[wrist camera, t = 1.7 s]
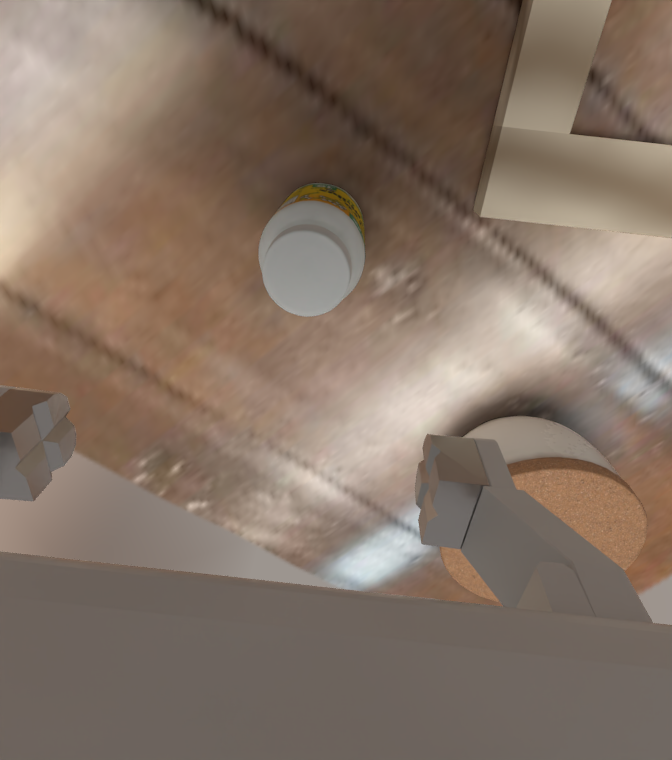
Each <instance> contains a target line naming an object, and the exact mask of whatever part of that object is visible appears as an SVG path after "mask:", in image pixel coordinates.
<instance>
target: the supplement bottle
mask: <svg viewBox="0 0 672 760" xmlns="http://www.w3.org/2000/svg"><path fill="white" fill-rule="evenodd" d="M258 254H259V263H260V268H261V271H262V276H263V282H264V285H265V288H266V290H267V292H268V294H269V295H270V297H271V298H272V299H273V301H274V302H275V303H276V304H277V305H279V306H280V307H281V308H282V309H284V310H286V311H287V312H290V313H292V314H295V315H299V316H307V317H309V316H318V315H322V314H324V313H327V312H329V311H330V310H332V309H333V308H335V307H336V306H337V305H338V304H339V303H340V302H341V301H342V299H344V298H345V297H346V296H347V295H349V294H350V293H351V292H352V290H353V289H354V288H355V287H356V285H357V283H358V282H359V280H360V278H361V275H362V272H363V268H364V263H365V234H364V221H363V216H362V213H361V210H360V208H359V206H358V204H357V203H356V201H355V200H354V199H353V198H352V197H351V195H349V194H348V193H347V192H346V191H345V190H343V189H341V188H339V187H337V186H334V185H330V184H324V183H312V184H307V185H304V186H302V187H300V188H298V189H297V190H295V191H294V192H293V193H292V194H291V195H290V196H289V197H288V198H287V199H286V200H285V201H284V203H283V204H282V205H281V206H280V208H279V209H278V210H277V212H276V213H275V214H274V215H273V216H272V218H271V219H270V220H269V222H268V223H267V225H266V226H265V228H264V230H263V233H262V235H261V238H260V243H259V252H258Z"/></svg>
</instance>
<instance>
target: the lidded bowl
mask: <svg viewBox="0 0 672 760" xmlns="http://www.w3.org/2000/svg"><path fill="white" fill-rule="evenodd" d="M463 437H464V438H482V439H494V440H495V441H496V442H497V443H498V445H499V448H500V450H501V453H502V455H503V458H504V460H505V462H506V465H507V467H508V470H509V472H510V474H511V477H512V479H513V482H514V484H515V487H516V489H517V490H524V491H525V492H526V493H527V494H529V495H530V496H531V497H532V498H534V499H535V500H536V501H538V502H539V503H540V504H541V505H543V506H544V507H545V508H546V509H548V510H549V511H550V512H551V513H553V514H554V515H555V516H557V517H558V518H559V519H560V520H562V521H563V522H564V523H565V524H567V525H568V526H569V527H570V528H572V529H573V530H574V531H575V532H577V533H578V534H579V535H581V536H582V537H583V538H584V539H586V540H587V541H588V542H589V543H591V544H592V545H593V546H594V547H596V548H597V549H598V550H600V551H601V552H602V553H603V554H605V555H606V556H607V557H608V558H610V559H611V560H612V561H613V562H615V563H616V564H617V565H618V566H620V567H621V568H622V569H623V570H624V571H625V570H626V569H627V568H628V567H629V566H630V565H631V564H632V563H633V562H634V561H635V559H636V558H637V556H638V554H639V553H640V551H641V549H642V547H643V544H644V542H645V539H646V533H647V526H648V525H647V516H646V513H645V510H644V508H643V505H642V503H641V502H640V500H639V499H638V497H637V496H636V495H635V493H634V492H633V490H632V489H631V488H630V486H629V485H628V484H627V483H626V482H625V481H624V480H623V479H622V478H621V477H620V476H619V475H618V473H617V472H616V470H615V469H614V468H613V466H612V465H611V464H610V463H609V461H608V460H607V459H606V458H605V457H604V456H603V455H602V454H601V453H600V452H599V451H598V450H597V449H596V448H595V447H594V446H593V445H592V444H591V443H590V442H588V441H587V440H586V439H584V438H583V437H582V436H581V435H579V434H578V433H576V432H574V431H573V430H571V429H569V428H567V427H565V426H563V425H561V424H559V423H556V422H554V421H551V420H546V419H542V418H538V417H530V416H512V417H503V418H497V419H493V420H490V421H488V422H485V423H483V424H481V425H480V426H478V427H476V428H475V429H473V430H471V431H470V432H469V433H467V434H466V435H465V436H463ZM440 552H441V557H442V560H443V563H444V565H445V567H446V569H447V570H448V572H449V573H450V574H451V576H452V577H453V578H454V579H455V580H456V581H457V582H458V583H459V584H461V585H462V586H463V587H465V588H466V589H468V590H469V591H471V592H473V593H475V594H477V595H479V596H481V597H484V598H487V599H490V600H493V601H498V602H500V601H499V600H498V599H497V597H496V596H495V595H494V593H493V592H492V591H491V590H490V588H489V587H488V586H487V584H486V583H485V582H484V581H483V579H482V578H481V577H480V575H479V574H478V573H477V572H476V570H475V569H474V568H473V566H472V565H471V564H470V563H469V561H468V560H467V559H466V557H465V556H464V555H463V554H462V552H461V549H454V548H447V547H440Z"/></svg>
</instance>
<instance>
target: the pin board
mask: <svg viewBox="0 0 672 760" xmlns="http://www.w3.org/2000/svg"><path fill="white" fill-rule="evenodd" d="M611 1H612V0H523V1H522V5H521V9H520V14H519V18H518V22H517V26H516V30H515V35H514V39H513V43H512V47H511V52H510V56H509V60H508V64H507V68H506V73H505V77H504V81H503V85H502V90H501V94H500V98H499V102H498V106H497V111H496V115H495V119H494V123H493V128H492V132H491V136H490V140H489V144H488V149H487V153H486V157H485V161H484V166H483V170H482V174H481V178H480V182H479V187H478V191H477V195H476V199H475V204H474V208H473V211H474V212H475V213H476V214H478V215H479V216H480V217H486V218H495V219H504V220H513V221H522V222H531V223H540V224H549V225H558V226H567V227H576V228H585V229H594V230H603V231H612V232H621V233H630V234H639V235H648V236H657V237H666V238H672V145H666V144H657V143H648V142H639V141H630V140H621V139H612V138H603V137H594V136H585V135H576V134H570V132H571V128H572V125H573V122H574V119H575V116H576V112H577V109H578V106H579V103H580V100H581V97H582V93H583V90H584V87H585V84H586V81H587V77H588V74H589V71H590V68H591V65H592V62H593V58H594V55H595V52H596V49H597V46H598V42H599V39H600V36H601V33H602V30H603V27H604V23H605V20H606V17H607V14H608V11H609V7H610V4H611Z"/></svg>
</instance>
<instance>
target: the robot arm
mask: <svg viewBox="0 0 672 760" xmlns="http://www.w3.org/2000/svg"><path fill="white" fill-rule="evenodd" d="M69 411H70V406H69V403H68V399H67V397H66V396H65V395H63V394H62V393H58V392H50V391H42V390H35V389H27V388H20V387H17V388H16V387H11V386H2V385H0V499H12V500H24V501H34V500H35V499H36V498H37V497H38V496H39V494H40V493H41V492H42V491H43V490H44V489H45V488H46V486H47V485H48V484H49V483H50V482H51V481H52V474H51V472H52V471H54V470H56V469H58V468H60V467H62V466H64V465H65V464H66V463H67V461H68V460H69V459H70V458H71V456H72V454H73V451H74V448H75V446H76V431H75V427H74V425H73V424H72V423H71V422H70V421H69V420H68V419H67V418H66V415H67V414H68V412H69ZM423 455H424V460H423V461H421V462H420V463H419V465H418V469H417V474H416V483H415V498H416V505H417V506H418V507H419V508H420V509H421V511H420V515H419V519H418V521H419V528H420V536H421V543H422V544H425V545H432V546H439V547H447V548H454V549H461V552H462V554H463V555H464V556H465V557H466V559H467V560H468V561H469V563H470V564H471V565H472V566H473V568H474V569H475V570H476V572H477V573H478V574H479V575H480V577H481V578H482V579H483V581H484V582H485V583H486V584H487V586H488V587H489V588H490V590H491V591H492V592H493V593H494V595H495V596H496V597H497V599H498V600H499V601H500V602H501V604H502V605H503V606H504V607H502V606H493V605H484V604H475V603H466V602H457V601H447V600H438V599H429V598H419V597H410V596H401V595H391V594H382V593H373V592H363V591H354V590H345V589H336V588H327V587H317V586H309V585H301V584H291V583H283V582H274V581H265V580H256V579H247V578H238V577H228V576H219V575H210V574H201V573H193V572H183V571H174V570H165V569H156V568H147V567H138V566H137V567H136V566H128V565H119V564H110V563H101V562H92V561H82V560H73V559H64V558H55V557H46V556H37V555H28V554H17V553H9V552H0V760H672V625H666V624H657V623H653V622H652V620H651V618H650V616H649V615H648V613H647V611H646V609H645V608H644V606H643V604H642V602H641V600H640V599H639V597H638V595H637V593H636V591H635V590H634V588H633V586H632V584H631V583H630V581H629V579H628V577H627V575H626V574H625V572H624V570H623V569H622V568H621V567H620V566H618V565H617V564H616V563H615V562H613V561H612V560H611V559H610V558H608V557H607V556H606V555H605V554H603V553H602V552H601V551H600V550H598V549H597V548H596V547H594V546H593V545H592V544H591V543H589V542H588V541H587V540H586V539H584V538H583V537H582V536H581V535H579V534H578V533H577V532H575V531H574V530H573V529H572V528H570V527H569V526H568V525H567V524H565V523H564V522H563V521H562V520H560V519H559V518H558V517H557V516H555V515H554V514H553V513H551V512H550V511H549V510H548V509H546V508H545V507H544V506H543V505H541V504H540V503H539V502H538V501H536V500H535V499H534V498H532V497H531V496H530V495H529V494H527V493H526V492H525V491H524V490H517V489H516V487H515V484H514V482H513V479H512V477H511V474H510V472H509V470H508V467H507V465H506V462H505V460H504V458H503V455H502V453H501V450H500V448H499V445H498V443H497V442H496V441H495V440H494V439H482V438H464V437H454V436H444V435H434V434H427V435H426V438H425V440H424V444H423Z"/></svg>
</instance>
